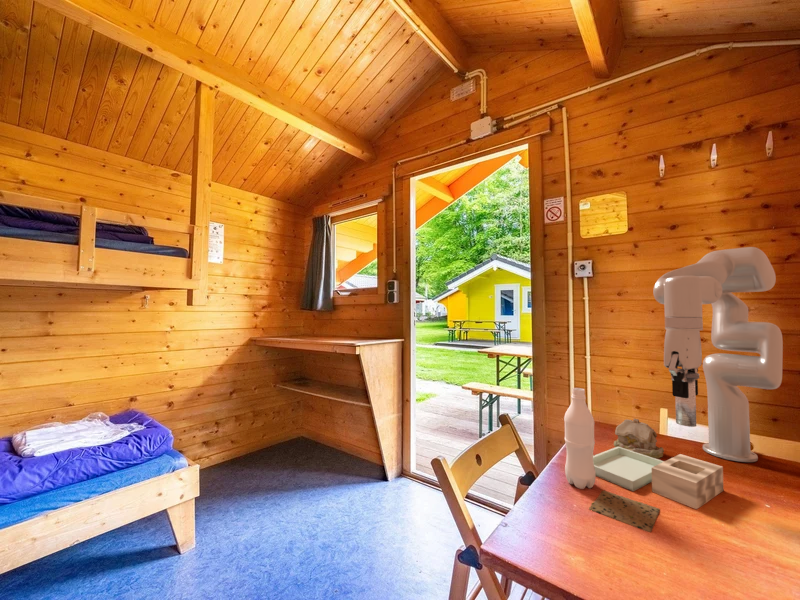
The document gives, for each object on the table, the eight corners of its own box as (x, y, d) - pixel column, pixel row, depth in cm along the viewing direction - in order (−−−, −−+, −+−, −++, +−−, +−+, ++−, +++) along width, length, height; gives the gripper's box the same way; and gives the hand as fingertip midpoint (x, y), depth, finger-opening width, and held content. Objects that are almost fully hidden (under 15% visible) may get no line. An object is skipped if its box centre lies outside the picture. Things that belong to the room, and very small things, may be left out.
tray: (617, 454, 109) (617, 446, 110) (670, 472, 97) (669, 463, 97) (580, 469, 99) (580, 460, 99) (633, 491, 87) (632, 481, 87)
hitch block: (680, 475, 95) (680, 453, 95) (723, 490, 87) (722, 466, 88) (652, 491, 87) (651, 467, 87) (696, 509, 79) (695, 482, 80)
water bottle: (600, 492, 87) (598, 392, 87) (569, 489, 88) (567, 391, 89) (590, 479, 94) (588, 386, 94) (562, 476, 95) (560, 385, 96)
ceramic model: (606, 446, 116) (605, 416, 117) (623, 439, 122) (622, 411, 123) (654, 461, 104) (653, 428, 105) (670, 453, 110) (669, 422, 111)
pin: (677, 419, 92) (676, 370, 92) (704, 425, 87) (703, 373, 87) (667, 422, 89) (666, 372, 89) (695, 429, 84) (693, 375, 84)
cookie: (661, 510, 80) (661, 506, 80) (651, 535, 71) (650, 530, 71) (603, 491, 88) (603, 487, 88) (587, 511, 80) (587, 507, 80)
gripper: (680, 322, 96) (682, 388, 95) (650, 324, 87) (652, 397, 87) (715, 323, 89) (717, 394, 89) (686, 325, 81) (688, 404, 80)
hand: (685, 394), depth 88 cm, fingers closed on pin, 4 cm apart
